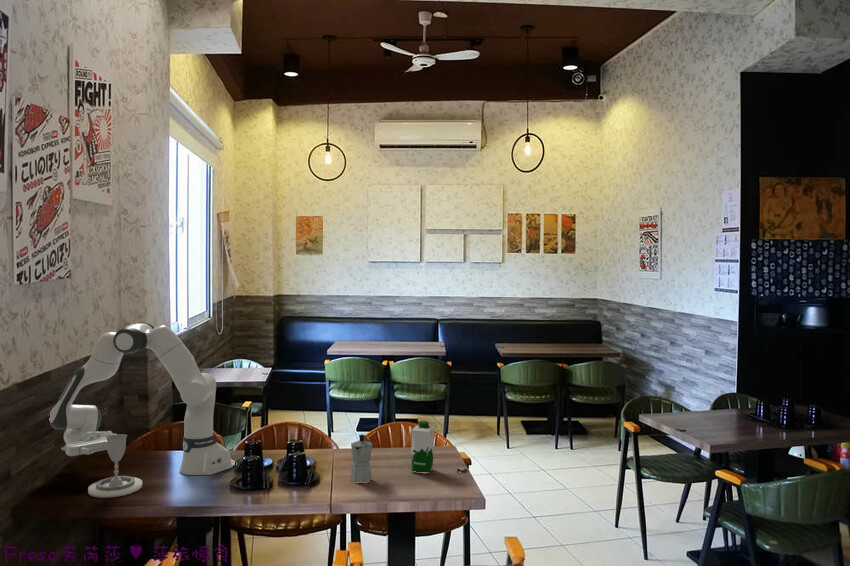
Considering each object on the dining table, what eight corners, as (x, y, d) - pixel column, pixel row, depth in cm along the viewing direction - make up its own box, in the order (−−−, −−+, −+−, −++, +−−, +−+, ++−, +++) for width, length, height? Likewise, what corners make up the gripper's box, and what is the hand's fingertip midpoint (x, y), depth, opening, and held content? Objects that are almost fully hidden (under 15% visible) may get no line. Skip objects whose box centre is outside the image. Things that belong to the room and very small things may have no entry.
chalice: (121, 480, 233) (122, 433, 233) (130, 484, 229) (130, 436, 229) (101, 485, 227) (102, 436, 227) (110, 489, 223) (110, 440, 223)
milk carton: (434, 468, 258) (435, 421, 258) (429, 475, 249) (430, 426, 249) (414, 467, 260) (415, 420, 260) (409, 473, 251) (409, 425, 251)
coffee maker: (367, 486, 235) (367, 439, 235) (345, 484, 237) (346, 438, 237) (377, 474, 250) (378, 430, 250) (357, 472, 252) (357, 428, 252)
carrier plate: (129, 477, 241) (129, 470, 241) (151, 488, 229) (151, 481, 229) (80, 489, 227) (80, 482, 227) (100, 501, 215) (100, 493, 215)
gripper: (59, 439, 236) (73, 446, 227) (114, 430, 251) (129, 436, 242) (59, 455, 236) (73, 463, 227) (114, 445, 251) (129, 452, 243)
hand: (103, 449), depth 235 cm, fingers open, 8 cm apart
